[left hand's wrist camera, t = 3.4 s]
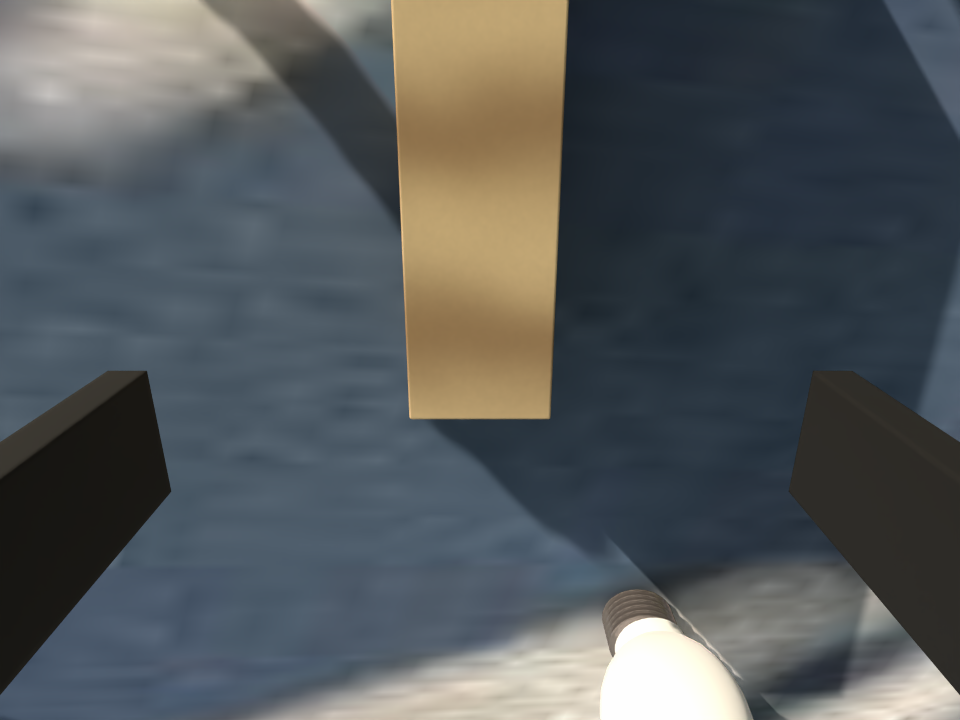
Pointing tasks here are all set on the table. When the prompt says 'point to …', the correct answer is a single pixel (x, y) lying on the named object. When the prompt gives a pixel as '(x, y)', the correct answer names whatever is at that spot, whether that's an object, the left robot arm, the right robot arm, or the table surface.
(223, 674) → the table surface
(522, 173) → the oak beam
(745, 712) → the light bulb
